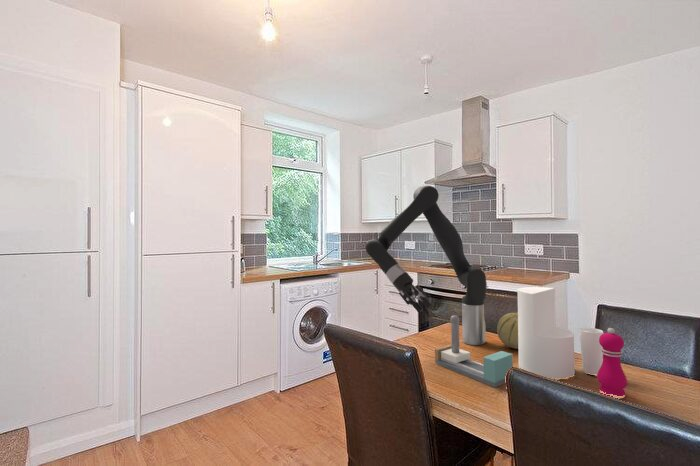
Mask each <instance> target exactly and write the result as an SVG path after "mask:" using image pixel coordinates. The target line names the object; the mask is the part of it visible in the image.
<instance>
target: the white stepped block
mask: <svg viewBox="0 0 700 466" xmlns="http://www.w3.org/2000/svg"><path fill="white" fill-rule="evenodd" d="M517 313H518V349H517V350H518V368H519V369H520V368H521V369H524V370H527V371H530V372H533V373H536V374H539V375H542V376H545V377H549V378H552V377H553V378H552V379H555V378H566V377H570V376H573V375H574V374H576V373H575V370H576V369H575V368H576V367H575V334H574V332H573V331H571V330H570V329H567V328H564V327H561V326H556V322H557V321H556V288H555V287H543V286H524V287H519V288H517ZM521 369H520V370H521ZM554 381H558V380H557V379H555V380H554Z"/></svg>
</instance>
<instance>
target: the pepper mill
mask: <svg viewBox="0 0 700 466" xmlns="http://www.w3.org/2000/svg"><path fill="white" fill-rule="evenodd" d="M615 332H616V330H615V329H614V328H612V327H608V328H607V332H603V334H602V335H601V336H600V337H599V343H600V345H601V346H602V347H603V348H601V350H602V351H601V353H602V354H603V360H602V365H601V367H600V369H599V371H598V374H597V376H596V380H597V381H598V382H597V383H598V384H600V385H599V386H598V390H599V389H600V390H601V391H603V392H604V393H605V392H606V394H613V395H617V396H623V395H625V396H626V391H625V389H626V387H627V386H628V379H627V377H626V374H625V372H624V369H623V368H622V365H621V357H623V351H622V349H623V348H624V347H625V342H624V339H623V337H621V335H619V334H617V333H615ZM602 394H603V393H600V395H602ZM606 394H604V395H606ZM607 396H610V395H607ZM611 397H613V396H611ZM616 400H619V399H618V398H617V399H616Z"/></svg>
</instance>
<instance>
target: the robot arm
mask: <svg viewBox="0 0 700 466" xmlns="http://www.w3.org/2000/svg"><path fill="white" fill-rule="evenodd" d="M438 200H439V191H438V190H437V188H435V186H432V185H422V186H418V187H417V188H416V189H415V190H414V192H413V200H412V202H411V203H410V204H409V205H408V206H406V208H405V209H404V210H402V211H401V212H400V213H399V214H397V215H396V216H395V217H393V218H392V220H390V221H389V222H388V224H386V226H384V227H383V228H382V230H381V231H380V235H379V236H378V238H377V239H369V240H367V242H366V243H365V251H366V253H367V254H368V256H370V258H371V259H372V260H373V261H374V262H375V263H376V264H377V266H379V268H380V269H381V271H382V272H383V273H384V275H385V276H386V277H387V279H388V280H389V282H390V283H391V284H392V285H393V286H394V288H396V290H397V291H398V292H399V293H398V295H399V296H400V297H401V298H402V300H403V302H405V304H406V305H408V306H409V305H410V306H412V307H413V308H414V309H415V311H417V313H421V312H423V307H422V306H421V305H420V304H419V302H418V301H417V300H419V301H420V302H421V303H422V304H423V305H424V307H426V308H427V309H430V308H431V307H432V306H433V305H432V303H431V302H430V301H429V299H428V298H427V296H428V295H427V293H426V291H424V290H423V289H422V287H421V286H419V285H418V284H416V285H414V284H413V283H414V279H413V278H412V277H411V275H409V273H408V272H407V271H406V270H405V269H404V267H403V266H402V265H400V264H399V262H397V260H396V259H395V258H394V257H393V256H392V255H391V254H390V253H389V252H388V250H389V249H390V247H391V246H392V244H393V242H395V241H396V240H397V239H398V237H400V236H401V235H402V233H403V232H404V231H405V230H406V229H408V227H409V226H410V225H411V224H412V223H413V222H414V221H416V220H417V218H419V217H420V216H421V215H422V214H423V216H424V217H425V219H426V220H427V222H428V224H429V227H430V228H431V231H432V233H433V234H434V236H435V238H436V240H437V241H438V244H439V245H440V247H441V249H442V250H443V252H444V254H445V256H446V257H447V259H448V260H449V262H450V264H451V266H452V267H453V270H454V273H455V275H456V277H457V279H458V281H459V283H460V284H461V285H462V286H463V287H466V293H465V294H464V295H463V296H462V298H461V318H462V319H461V321H462V324H461V325H462V332H461V333H462V342H463V343H464V344H466V345H470V346H471V345H472V346H482V345H484V344H485V343H486V339H487V336H486V334H487V333H486V320H485V299H486V295H487V276H486V273H485V271H483V269H480V268H478V267H474V266H473V267H472V266H471V264H470V263H469V261H468V259H467V258H466V256H465V253H464V245H463V240H462V238H461V236H460V234H459V232H458V231H457V229H456V227H455V225H454V224H453V223H452V222H451V221H450V219H449V218H447V216H446V215H445V214H444V213H443V211H441V209H440V207H439V205H438Z"/></svg>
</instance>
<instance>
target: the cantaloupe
mask: <svg viewBox="0 0 700 466" xmlns="http://www.w3.org/2000/svg"><path fill="white" fill-rule="evenodd" d="M496 332H497V335H498V338H499V340H500V341H501V342H502V343H503V344H504V345H505V346H506V347H508V348H511V349H515V350H518V312H508V313H506V314H504V315H503V316H502V317H501V318H500V319H499V320H498V322H497V326H496Z"/></svg>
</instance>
